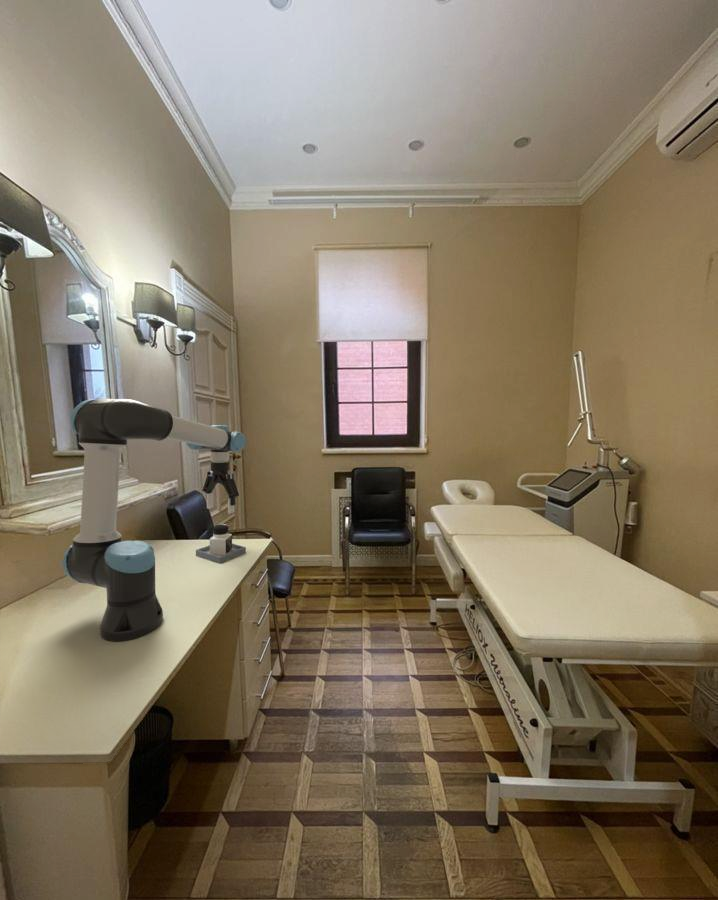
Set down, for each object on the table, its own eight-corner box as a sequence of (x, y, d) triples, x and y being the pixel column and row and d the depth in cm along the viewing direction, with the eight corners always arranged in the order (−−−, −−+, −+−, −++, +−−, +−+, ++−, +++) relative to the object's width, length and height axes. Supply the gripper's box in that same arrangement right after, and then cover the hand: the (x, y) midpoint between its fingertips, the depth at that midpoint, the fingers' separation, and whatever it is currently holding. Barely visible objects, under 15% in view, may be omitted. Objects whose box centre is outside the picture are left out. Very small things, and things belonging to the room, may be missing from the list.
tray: (219, 563, 147) (219, 557, 146) (195, 555, 154) (195, 550, 154) (245, 552, 159) (245, 547, 159) (222, 545, 166) (222, 540, 166)
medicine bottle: (226, 555, 153) (225, 528, 152) (209, 555, 153) (209, 527, 152) (232, 549, 160) (232, 523, 159) (216, 548, 160) (216, 522, 159)
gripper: (247, 463, 150) (247, 512, 152) (208, 458, 162) (208, 504, 164) (233, 464, 143) (233, 516, 145) (193, 459, 156) (194, 507, 157)
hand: (220, 510), depth 155 cm, fingers open, 13 cm apart
